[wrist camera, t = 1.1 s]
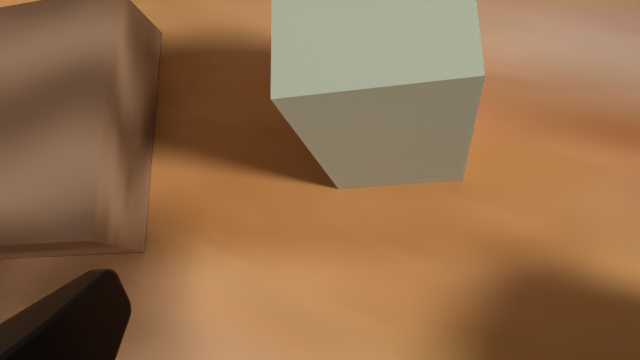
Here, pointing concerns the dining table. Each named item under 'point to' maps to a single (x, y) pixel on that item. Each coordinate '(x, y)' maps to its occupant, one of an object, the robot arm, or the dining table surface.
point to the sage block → (379, 86)
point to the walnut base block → (76, 127)
